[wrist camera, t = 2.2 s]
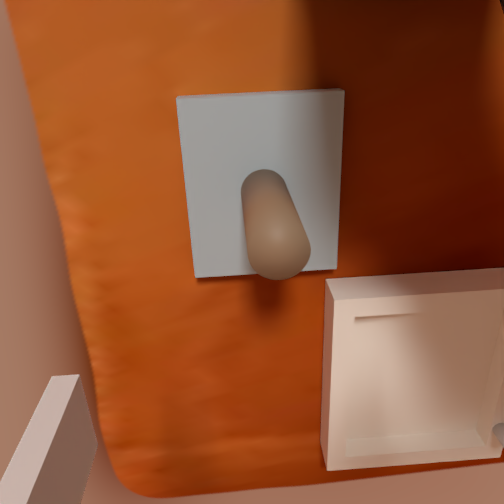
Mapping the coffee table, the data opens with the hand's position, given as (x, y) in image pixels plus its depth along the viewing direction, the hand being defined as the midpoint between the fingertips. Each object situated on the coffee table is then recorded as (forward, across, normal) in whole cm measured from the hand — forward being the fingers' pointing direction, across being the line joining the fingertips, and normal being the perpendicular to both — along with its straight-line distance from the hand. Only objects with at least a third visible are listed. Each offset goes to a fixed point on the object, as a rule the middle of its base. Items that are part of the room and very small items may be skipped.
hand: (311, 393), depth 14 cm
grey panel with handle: (+20, 0, 0) cm, 20 cm away
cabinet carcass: (+20, +12, -16) cm, 28 cm away
